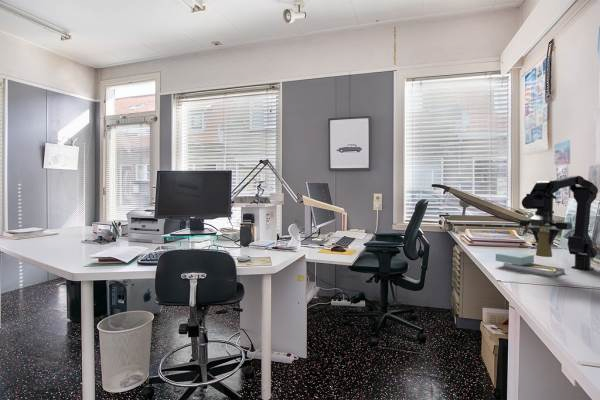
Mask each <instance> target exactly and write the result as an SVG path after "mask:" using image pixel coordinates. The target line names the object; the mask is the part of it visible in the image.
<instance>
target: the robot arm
mask: <svg viewBox="0 0 600 400" xmlns="http://www.w3.org/2000/svg"><path fill="white" fill-rule="evenodd" d="M568 187H569V191H571V192H572V193H573V194H572V195H573V199H574V200H575V202H576V212H575V220H574V221H575V223H574V232H573V234H572V235H570V236H568V238H567V247H568V251H569V255H573V256H574V265H572V266H570V267H571V269H578V270H585V271H590V270H591V271H592V270H593V269H595V268H594V267H593V266H592V267H591V265H592V261H591V260H592V259H591V258H596V257H597V255H598V252H597V250H596V249H595V247H594V246H593V239H592V238H591V237H590V235H589V226H590V217H591V206H592V203H594V201H595V200H596V199H597V196H598V192H599V189H598V187H597V186H596V185H595V184H594V183H593V182H592V181H590V180H587V179H586V178H584V177H583V176H580V175H569V176H568V177H562V178H559V179H555V180H539V181H538V180H537V181H536V182H535V184H534V186H533V188H532V190H531V191H530V193H526V195H525V196H524V197H523V198H522V200H521V205H522V207H523V208H524V209H525V210H535V212H534V215H532V216H531V217H530V218H529V219H520V220H519V222H518V226H519V227H526V228H527V229H529V230H530V231H531V232H532V234H533V237H534V240H535V242H536V244H538V239H539V238H538V237H537V233H538V232H539V231H541V229H540V228H541V227H549V229H548V230H549V231H548V232H550V239H549V243H550V244H551V245H552V244H553V243H554V241H555V239H556V237H557V235H558V234H559V233H560V231H563V230H565V231H569V230H573V224H572V223H571V222H569V221H568V222H566V221H557V222H555V221H554V214H555V211H554V209H553V208H554V199H557V196H556V195H555V193H557V192H558V191H560V189H564V188H568Z"/></svg>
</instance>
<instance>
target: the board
mask: <svg viewBox="0 0 600 400" xmlns="http://www.w3.org/2000/svg"><path fill="white" fill-rule="evenodd" d="M502 268H503V269H506V270H511V271H517V272H521V273H526V274H531V275H538V276H542V277H547V278H554V277H558V276H561V275H564V274H565V273H566V271H565V268H564V267H560V266H554V265H553V266H552V265H547V264H540V263H536V262H535V263H534V262H533V263H529V264H525V265H516V264H511V263H505V262H503V267H502Z"/></svg>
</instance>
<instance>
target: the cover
mask: <svg viewBox="0 0 600 400" xmlns="http://www.w3.org/2000/svg"><path fill="white" fill-rule="evenodd" d="M495 262H499V263H508V264H516V265H525V264H529V263H534V262H535V254H530V253H529V254H528V253H523V252H522V253H521V252H516V251H503V252H497V253H495Z"/></svg>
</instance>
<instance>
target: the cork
mask: <svg viewBox="0 0 600 400" xmlns="http://www.w3.org/2000/svg"><path fill="white" fill-rule="evenodd" d="M537 237H538V238H539V239H538V243H537V244H536V245H537V246H536V251H535V256H537V257H543V258H552V257H553V253H552V246H551V245H552V244H550V243H549V239H550V231H546V230H540V231H539V232H538V233H537Z"/></svg>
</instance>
